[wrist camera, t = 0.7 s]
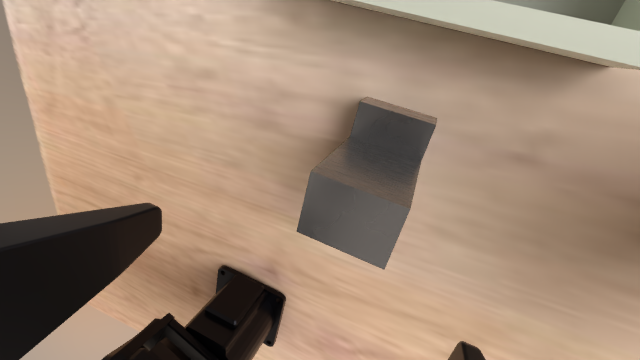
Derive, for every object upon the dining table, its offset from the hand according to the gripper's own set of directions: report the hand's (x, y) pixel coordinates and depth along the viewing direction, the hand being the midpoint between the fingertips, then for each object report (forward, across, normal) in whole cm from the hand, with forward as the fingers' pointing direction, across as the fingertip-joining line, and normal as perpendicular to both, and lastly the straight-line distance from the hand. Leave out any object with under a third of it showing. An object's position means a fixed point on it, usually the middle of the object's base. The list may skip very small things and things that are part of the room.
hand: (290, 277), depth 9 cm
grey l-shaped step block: (+12, -1, -1) cm, 12 cm away
